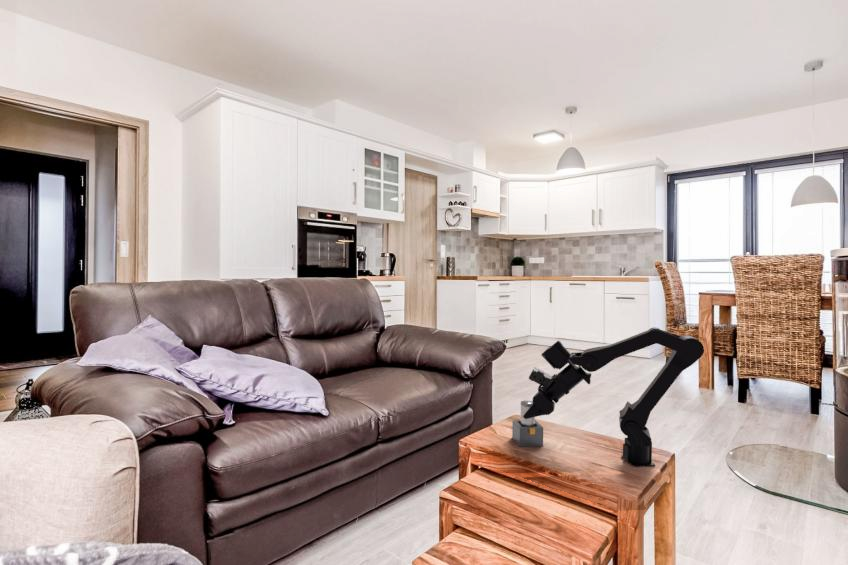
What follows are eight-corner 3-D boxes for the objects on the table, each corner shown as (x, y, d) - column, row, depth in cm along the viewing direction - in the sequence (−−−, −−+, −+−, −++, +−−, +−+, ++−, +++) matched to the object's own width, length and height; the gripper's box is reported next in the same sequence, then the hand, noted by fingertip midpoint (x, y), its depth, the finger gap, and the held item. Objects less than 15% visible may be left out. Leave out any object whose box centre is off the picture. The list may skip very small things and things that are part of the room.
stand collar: (535, 439, 138) (535, 419, 138) (544, 450, 130) (544, 428, 130) (511, 440, 137) (511, 419, 137) (519, 451, 129) (520, 429, 129)
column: (531, 438, 136) (532, 400, 136) (536, 444, 132) (537, 404, 131) (518, 439, 136) (518, 400, 135) (522, 444, 131) (523, 404, 131)
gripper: (548, 354, 140) (513, 385, 144) (542, 366, 123) (502, 400, 127) (574, 381, 137) (537, 412, 142) (571, 397, 120) (529, 431, 124)
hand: (526, 413), depth 134 cm, fingers open, 9 cm apart
